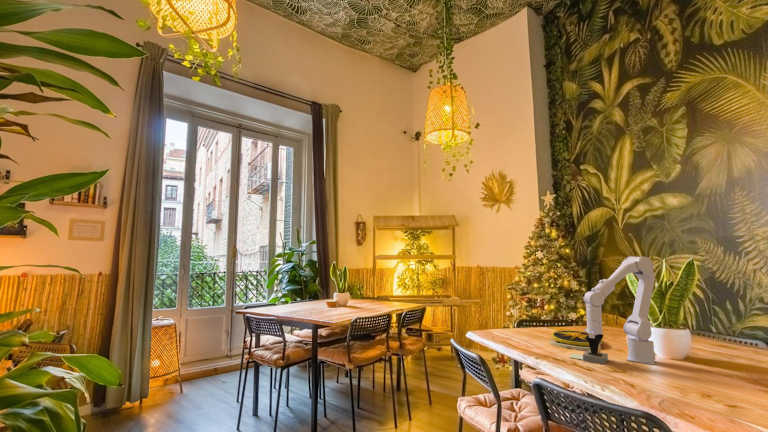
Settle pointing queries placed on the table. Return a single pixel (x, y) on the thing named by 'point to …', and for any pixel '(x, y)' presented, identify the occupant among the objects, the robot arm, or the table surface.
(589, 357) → the gray block
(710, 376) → the table surface
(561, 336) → the wall ornament
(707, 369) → the table surface
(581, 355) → the mat
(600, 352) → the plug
